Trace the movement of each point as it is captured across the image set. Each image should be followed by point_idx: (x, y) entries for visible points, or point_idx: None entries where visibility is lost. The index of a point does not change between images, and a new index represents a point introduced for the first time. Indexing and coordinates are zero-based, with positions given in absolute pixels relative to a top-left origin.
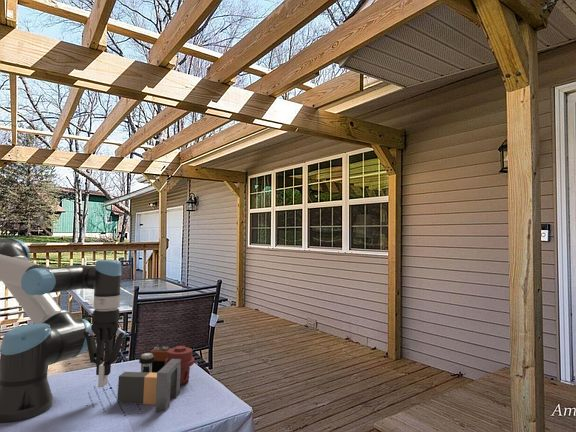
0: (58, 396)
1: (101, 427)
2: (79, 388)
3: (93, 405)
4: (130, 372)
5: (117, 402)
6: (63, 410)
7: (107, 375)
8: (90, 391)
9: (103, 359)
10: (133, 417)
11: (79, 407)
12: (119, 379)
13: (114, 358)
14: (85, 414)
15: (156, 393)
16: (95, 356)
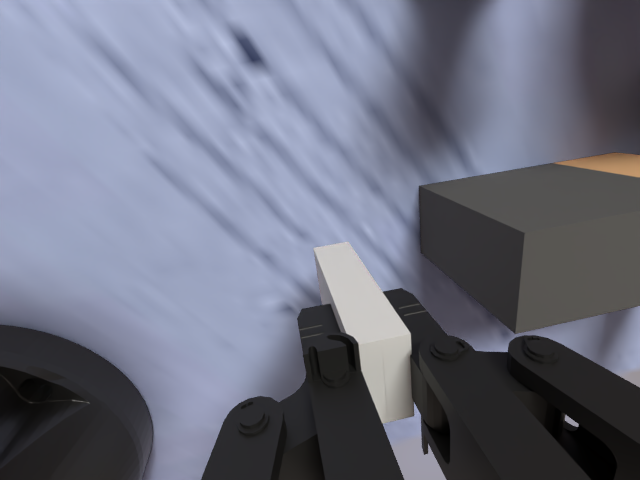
0: (22, 269)
1: None
2: (24, 119)
3: (321, 304)
4: (578, 236)
5: (422, 253)
6: (220, 379)
7: (365, 268)
8: (157, 151)
9: (368, 392)
10: None
11: (269, 338)
12: (505, 318)
13: (593, 458)
14: None
15: None
16: (251, 471)
